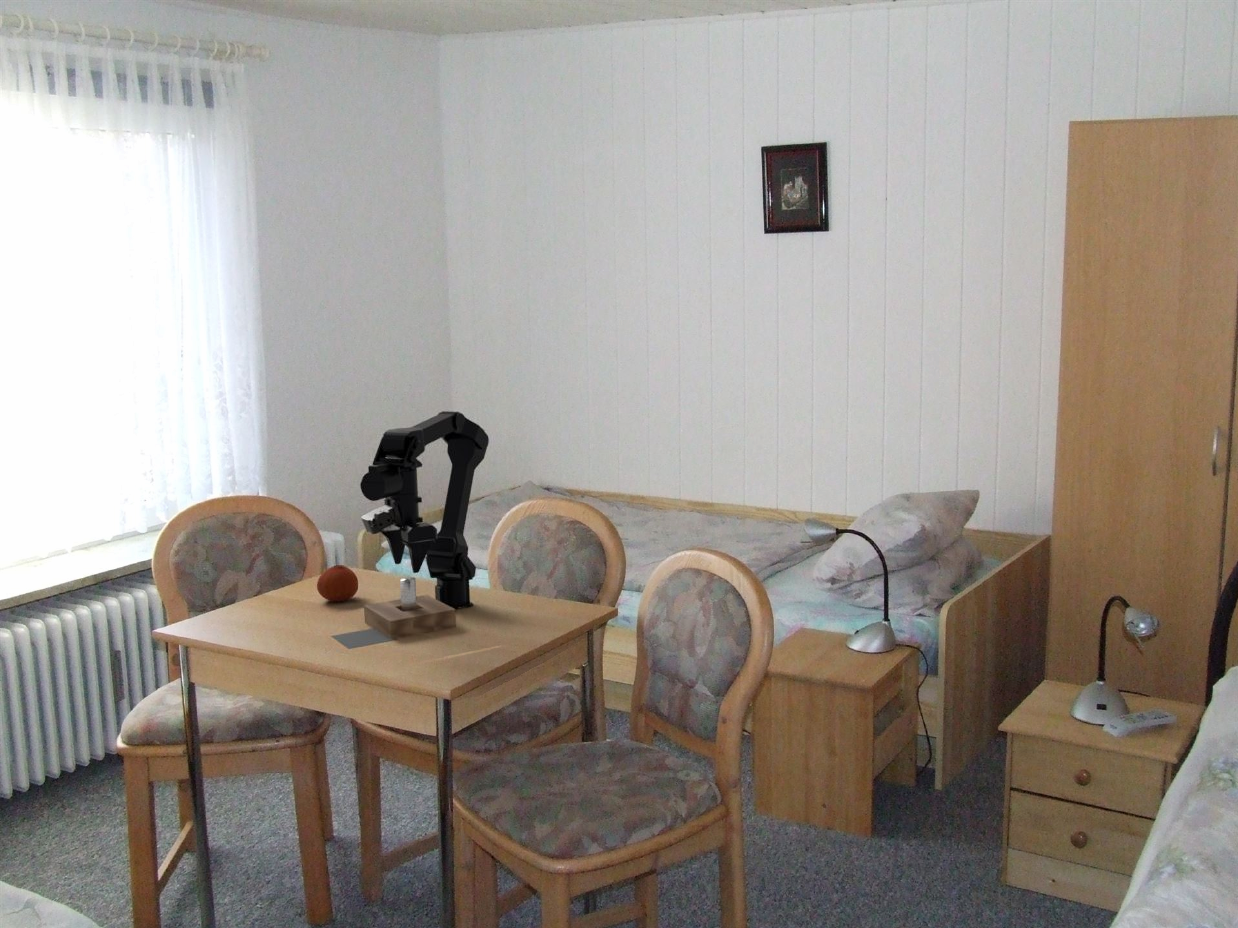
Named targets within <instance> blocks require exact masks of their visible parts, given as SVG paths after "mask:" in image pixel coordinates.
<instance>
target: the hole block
mask: <svg viewBox="0 0 1238 928" xmlns="http://www.w3.org/2000/svg"><path fill="white" fill-rule="evenodd" d="M416 604H417V609H416V610H410V611H405V612H403V611H402V603H401V598H399V599H393V600H388V601H387V600H386V601H382V602H377V603H376V602H375V603H371V604H364V605H363V613H364V623H365V624H367V626H369V627H371V629H372V628H374V629H376V630H378V631H379V632H381V633H382V634H384V635H386V636H387V637H389V638H390V639H394V638H396V639H399V638H405V637H410V636H415V635H420V634H426V633H431V632H435V631H442V630H446V629H447V630H448V629H453V628H456V627H457V619H456V618H457V616H456V609H454V608H452V607H450V606H448V605H446V604H444V603H442V602H440V601H438V600H436V599H435V597H432V596H431V595H430V594H429V595H428V594H423V595H416Z"/></svg>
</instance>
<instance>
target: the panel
mask: <svg viewBox="0 0 1238 928" xmlns="http://www.w3.org/2000/svg"><path fill="white" fill-rule="evenodd" d="M331 638H332V639H334V640H336V641H337V642H338V643H340V644H341V645H342V646H344V647H346V648H347V649H348V650H350V649H355V648H360V647H365V646H372V645H377V644H381V643H387V642H393V641H397V640H399V638H394V639H390V638H389V637H387V636H386V635H384V634H382V633H381V632H379V631H378V630H376V629H374V628H372V627H371V628H369V629H361V630H357V631H351V632H346V633H340V634H335V635H331Z"/></svg>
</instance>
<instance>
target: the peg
mask: <svg viewBox="0 0 1238 928" xmlns="http://www.w3.org/2000/svg"><path fill="white" fill-rule="evenodd" d="M416 596H417V586H416V578H415V577H413V576H405V577H401V578H400V597H401V598H400V599H401V603H402V611H403V612H405V611H410V610H416V609H417V604H416Z"/></svg>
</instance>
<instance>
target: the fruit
mask: <svg viewBox="0 0 1238 928" xmlns="http://www.w3.org/2000/svg"><path fill="white" fill-rule="evenodd" d="M316 589H317V590H316V591H318V594H319V595H320V596H321V597H322V598H324V600H326V601H330V602H334V603H335V602H336V603H337V602H345V601H349V600H350V599H351V598H353V597H355V595H356V594H357V592H358V589H359V580H358V577H357V575H356V573H355V572H354V571H353V570H352V569H350V568H349V567H347V566H346V565H344V564H336V565H334V566H331V567H329V568H327V569H326V570H325V571H323V573H321V575H320V576H319V577H318V580H317V581H316Z"/></svg>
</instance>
